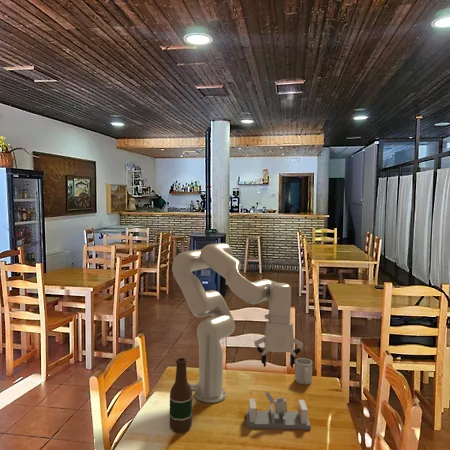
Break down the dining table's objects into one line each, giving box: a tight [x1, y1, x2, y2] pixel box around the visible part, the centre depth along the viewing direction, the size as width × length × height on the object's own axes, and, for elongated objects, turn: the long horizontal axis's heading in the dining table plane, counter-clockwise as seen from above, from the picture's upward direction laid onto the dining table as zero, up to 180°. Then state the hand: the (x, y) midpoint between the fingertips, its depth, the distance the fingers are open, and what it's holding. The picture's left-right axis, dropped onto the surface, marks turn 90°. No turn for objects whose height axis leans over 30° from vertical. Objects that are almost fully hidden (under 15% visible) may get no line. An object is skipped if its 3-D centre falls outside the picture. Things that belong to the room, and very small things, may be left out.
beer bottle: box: [169, 357, 193, 434], centre depth 140 cm, size 8×8×24 cm
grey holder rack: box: [245, 398, 312, 431], centre depth 145 cm, size 22×9×6 cm, turn 89°
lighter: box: [264, 391, 288, 414], centre depth 145 cm, size 7×2×8 cm, turn 93°
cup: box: [294, 357, 313, 386], centre depth 176 cm, size 7×10×9 cm
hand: (278, 365), depth 144 cm, fingers open, 9 cm apart
